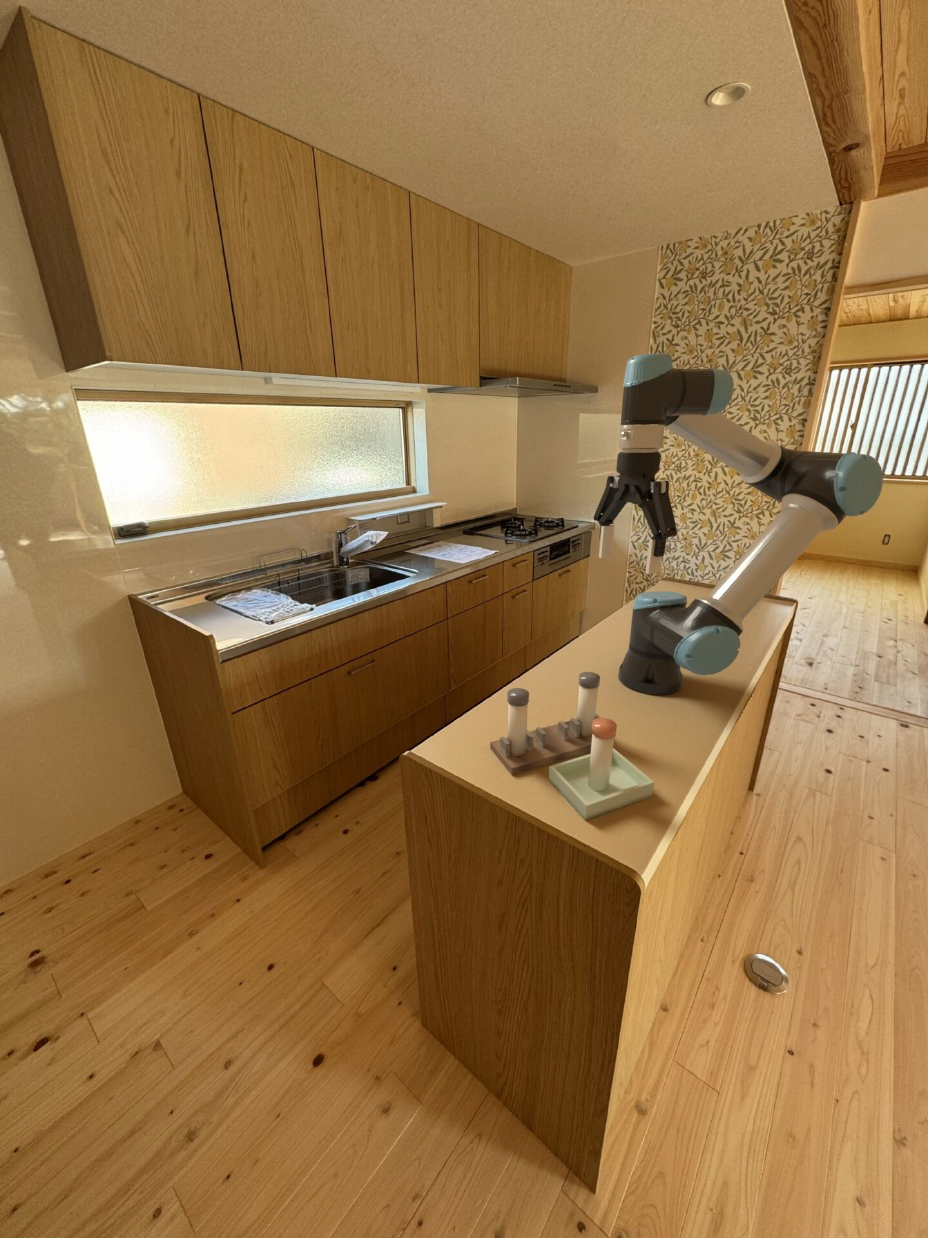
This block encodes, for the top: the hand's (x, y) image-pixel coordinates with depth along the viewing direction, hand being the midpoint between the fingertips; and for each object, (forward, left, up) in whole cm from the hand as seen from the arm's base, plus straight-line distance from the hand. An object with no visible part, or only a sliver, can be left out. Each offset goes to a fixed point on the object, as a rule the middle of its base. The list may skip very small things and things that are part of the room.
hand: (627, 564), depth 98 cm
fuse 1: (+26, +4, -33) cm, 42 cm away
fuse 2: (+10, +4, -33) cm, 35 cm away
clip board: (+18, +4, -35) cm, 39 cm away
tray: (+17, +18, -35) cm, 43 cm away
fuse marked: (+17, +18, -34) cm, 42 cm away
